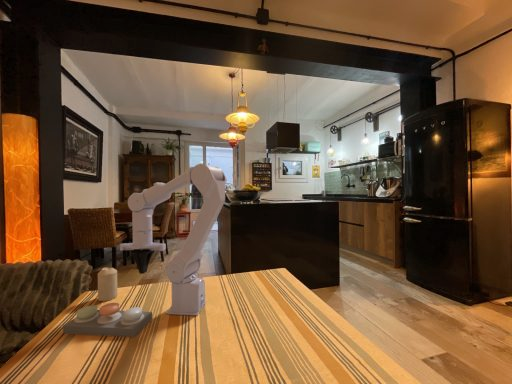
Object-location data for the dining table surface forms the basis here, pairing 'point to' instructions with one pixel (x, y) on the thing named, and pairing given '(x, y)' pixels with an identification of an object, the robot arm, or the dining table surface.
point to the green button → (86, 312)
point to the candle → (107, 284)
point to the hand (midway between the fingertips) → (143, 272)
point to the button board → (107, 325)
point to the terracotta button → (109, 309)
